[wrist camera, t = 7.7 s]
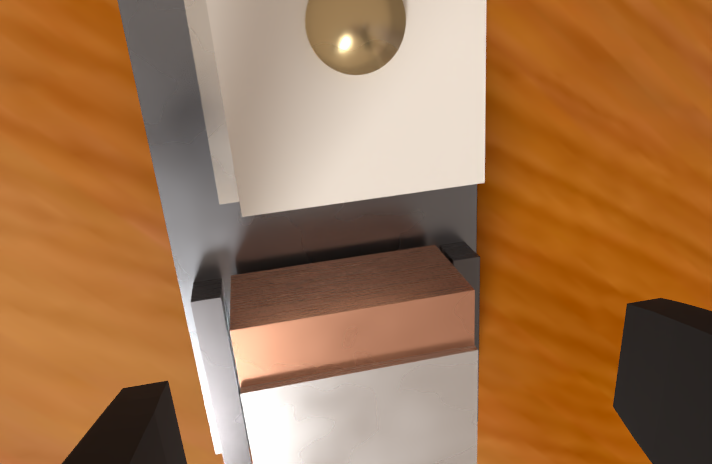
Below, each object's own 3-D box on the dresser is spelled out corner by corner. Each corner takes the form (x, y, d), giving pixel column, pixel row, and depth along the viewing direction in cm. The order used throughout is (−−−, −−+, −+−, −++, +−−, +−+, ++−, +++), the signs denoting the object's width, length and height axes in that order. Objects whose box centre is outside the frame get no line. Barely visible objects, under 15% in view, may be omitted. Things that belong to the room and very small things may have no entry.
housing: (391, -123, 13) (493, -215, 8) (403, 128, 15) (489, 185, 10) (197, -114, 12) (170, -208, 7) (239, 148, 15) (242, 220, 9)
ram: (432, 241, 17) (478, 294, 14) (436, 402, 19) (476, 480, 16) (230, 271, 16) (230, 336, 13) (259, 437, 18) (265, 528, 15)
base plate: (461, -184, 14) (503, -221, 12) (462, 381, 21) (489, 425, 18) (89, -175, 13) (59, -215, 10) (216, 429, 19) (214, 482, 17)
